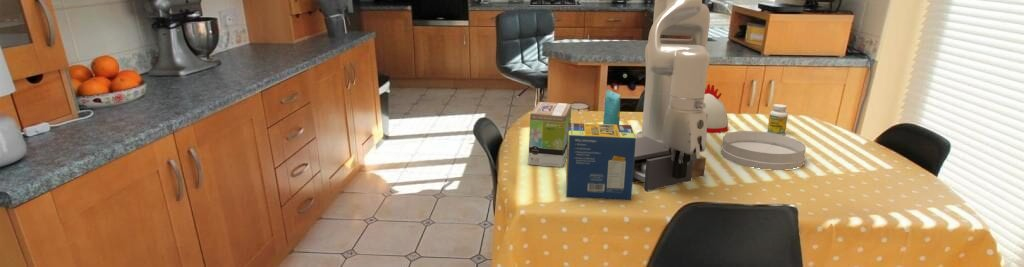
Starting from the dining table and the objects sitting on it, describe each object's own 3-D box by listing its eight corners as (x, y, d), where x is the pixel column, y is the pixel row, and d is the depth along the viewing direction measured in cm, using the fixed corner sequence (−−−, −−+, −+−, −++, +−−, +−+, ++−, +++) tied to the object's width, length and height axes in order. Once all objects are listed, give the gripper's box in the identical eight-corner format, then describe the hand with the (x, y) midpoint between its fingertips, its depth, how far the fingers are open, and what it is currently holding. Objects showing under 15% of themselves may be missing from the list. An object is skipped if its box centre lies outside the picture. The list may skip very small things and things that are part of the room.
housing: (600, 168, 148) (602, 144, 146) (643, 160, 155) (645, 136, 153) (629, 183, 138) (631, 157, 136) (674, 174, 145) (677, 148, 143)
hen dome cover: (698, 120, 198) (702, 78, 194) (734, 128, 189) (740, 85, 184) (677, 126, 189) (681, 83, 185) (714, 135, 180) (719, 90, 175)
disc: (674, 173, 140) (675, 165, 139) (653, 178, 136) (654, 170, 136) (654, 164, 145) (655, 157, 145) (634, 169, 142) (635, 162, 142)
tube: (623, 161, 155) (628, 94, 149) (609, 163, 153) (613, 95, 147) (608, 153, 161) (612, 88, 155) (594, 155, 159) (597, 90, 153)
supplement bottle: (785, 133, 183) (790, 105, 180) (783, 137, 179) (788, 108, 176) (768, 130, 186) (772, 102, 183) (765, 134, 181) (770, 106, 179)
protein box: (565, 181, 139) (568, 122, 135) (627, 184, 138) (632, 124, 134) (565, 197, 129) (567, 134, 125) (631, 201, 128) (636, 137, 124)
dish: (813, 157, 160) (816, 141, 158) (789, 178, 144) (792, 160, 143) (737, 141, 174) (739, 126, 173) (707, 158, 158) (709, 141, 157)
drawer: (615, 175, 143) (617, 147, 141) (658, 166, 150) (660, 139, 148) (648, 191, 133) (650, 161, 131) (692, 181, 139) (695, 152, 137)
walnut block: (689, 169, 148) (691, 152, 147) (703, 175, 144) (706, 157, 143) (675, 172, 146) (677, 155, 144) (689, 179, 142) (691, 160, 140)
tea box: (564, 168, 149) (566, 115, 144) (527, 165, 151) (528, 112, 146) (569, 151, 163) (571, 102, 159) (536, 148, 165) (537, 100, 160)
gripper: (723, 108, 123) (714, 184, 129) (675, 95, 136) (668, 165, 141) (699, 112, 120) (690, 190, 125) (651, 98, 133) (645, 170, 138)
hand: (678, 176), depth 133 cm, fingers closed
